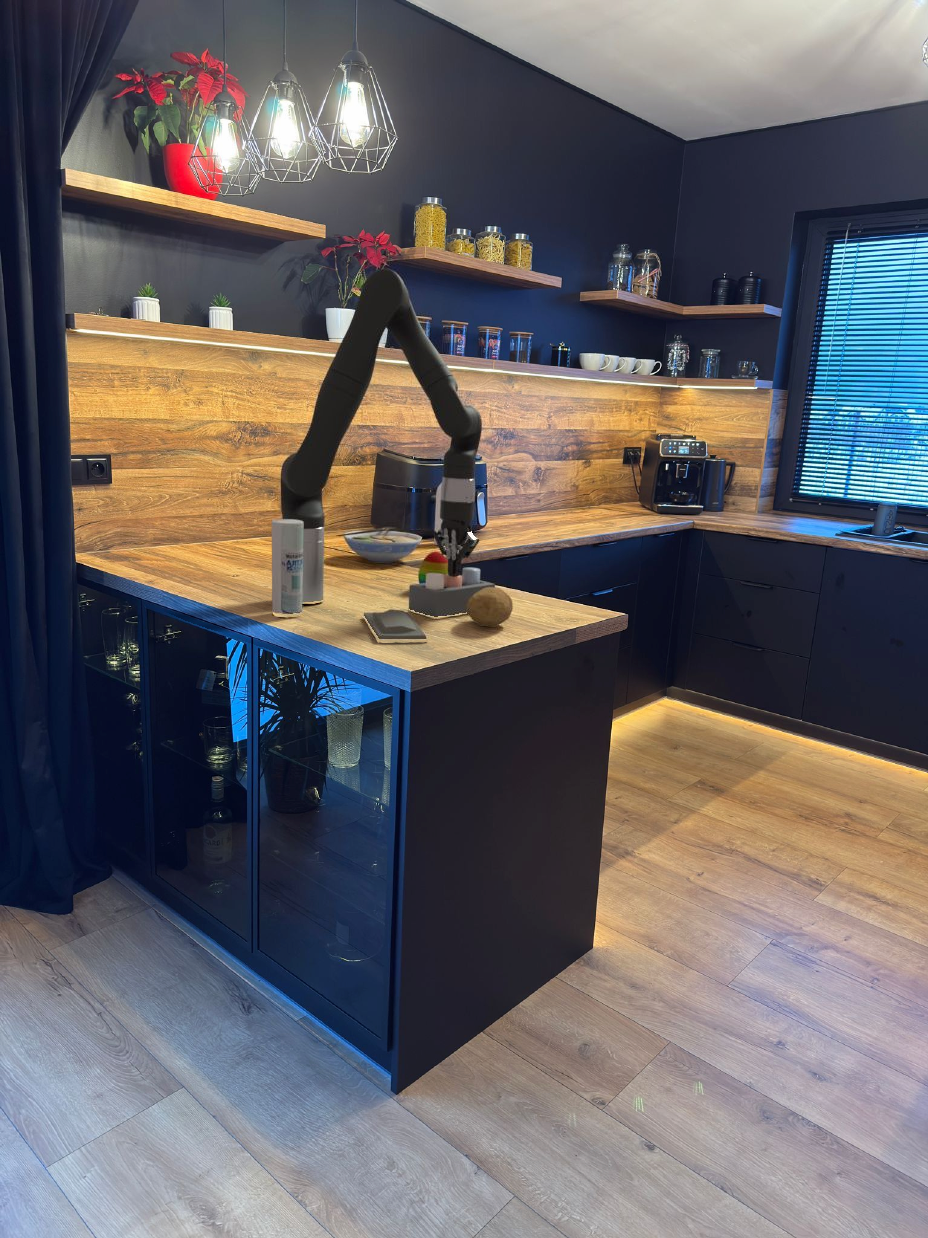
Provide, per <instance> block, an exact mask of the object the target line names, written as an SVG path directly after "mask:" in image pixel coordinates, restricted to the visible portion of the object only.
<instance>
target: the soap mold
mask: <svg viewBox="0 0 928 1238" xmlns="http://www.w3.org/2000/svg"><path fill="white" fill-rule="evenodd" d="M363 616H365V618H366V619H367V621H368V623H369V624H370V626H371V627H372V629H373V630H374V632H375V633H376V635H377V636H378V638H379V639H427V635H426V634H425V633H424V631H423V630H422V629H421V627H420V626H419V624H418V623H417V621H415V620H414V618H413V616H412V615H411V613H410V612H409V611H404V610H402V609H391V608H390V609H388V610H386V611H383V612H381V611H380V612H378V611H377V612H376V611H374V612H363Z"/></svg>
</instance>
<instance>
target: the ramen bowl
mask: <svg viewBox="0 0 928 1238" xmlns="http://www.w3.org/2000/svg"><path fill="white" fill-rule="evenodd" d="M397 530H398V528H397V527H396V526H395V527H393V526H387V527H380V528H375V529H369V530H368V529H367V530H354V531H349V532H345V533H343V534H336V535H335V537H342V536H343V538H344V542H346V544H347V545H348V547H349V548H350V549H351V551H352V552H354V553H355V554H356V555H358V556H359V557H361V558H363V559H366V560H368V561H369V562H372V563H376V564H392V563H394V562H396V561H398V560H402V559H404V558H407V557H408V556H410V555H411V554H412V553H413V552H414V551H415V550H416V548H417V547H418V546H419V544H420V542H421V540H423V539H422V538H423V537H422V536H420V535H418V534H415V533H410V532H403V531H402V532H401V531H397Z"/></svg>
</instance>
